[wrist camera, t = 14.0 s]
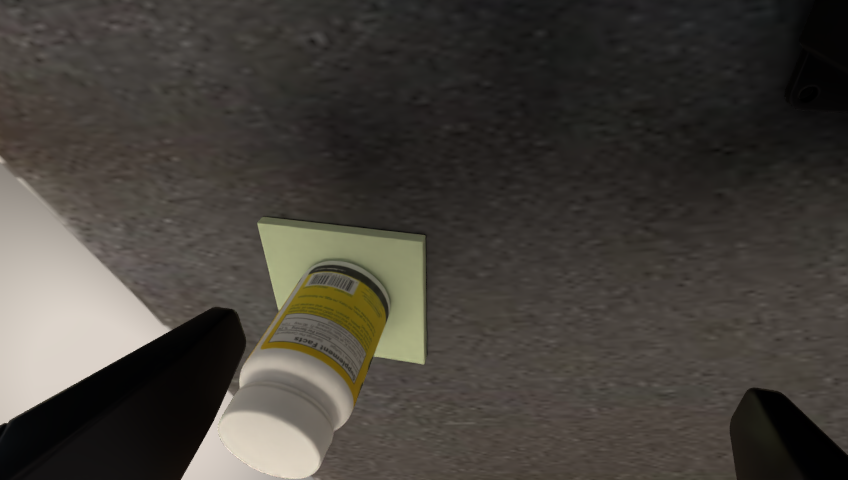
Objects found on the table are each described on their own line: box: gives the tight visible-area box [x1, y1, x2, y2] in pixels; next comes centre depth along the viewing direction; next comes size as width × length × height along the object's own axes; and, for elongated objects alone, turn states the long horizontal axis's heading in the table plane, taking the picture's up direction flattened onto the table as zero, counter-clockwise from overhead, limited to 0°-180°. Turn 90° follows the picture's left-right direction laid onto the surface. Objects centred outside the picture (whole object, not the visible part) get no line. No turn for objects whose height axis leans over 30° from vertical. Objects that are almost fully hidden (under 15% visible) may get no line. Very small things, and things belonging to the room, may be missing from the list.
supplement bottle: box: [218, 261, 390, 479], centre depth 21 cm, size 5×5×8 cm
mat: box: [257, 217, 426, 364], centre depth 24 cm, size 8×8×1 cm
